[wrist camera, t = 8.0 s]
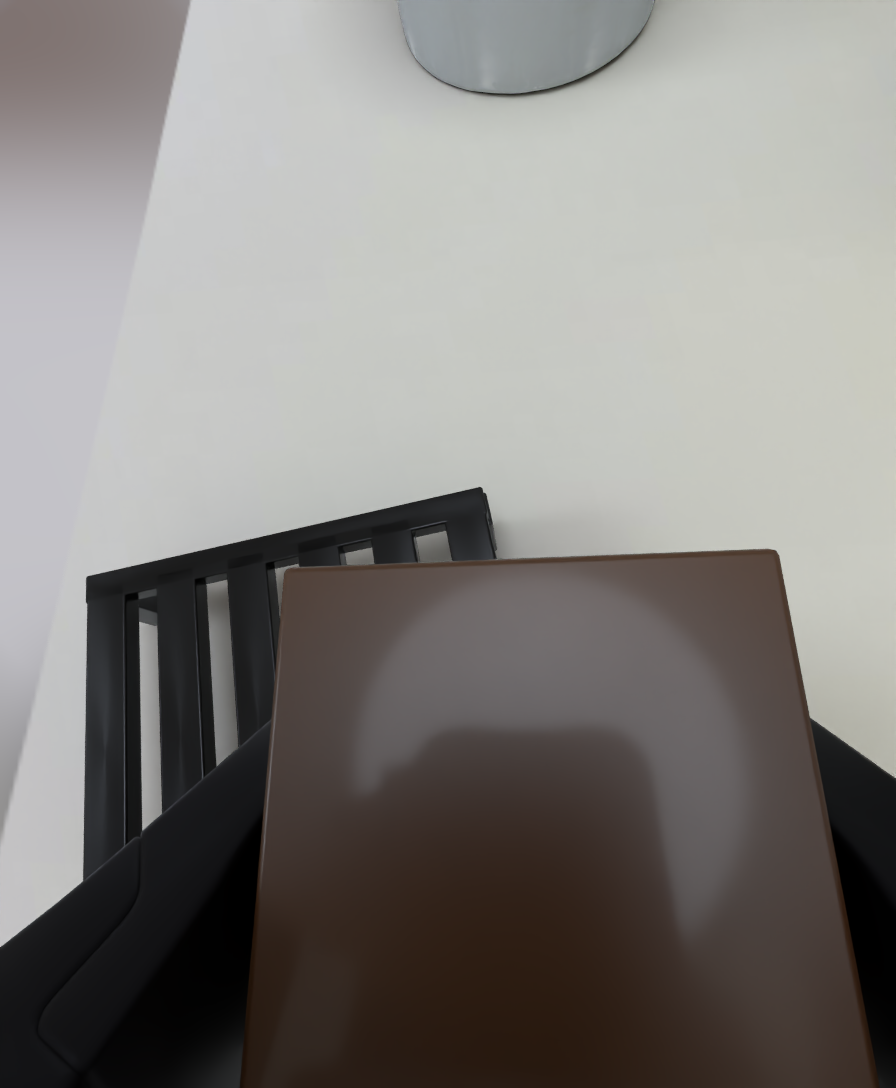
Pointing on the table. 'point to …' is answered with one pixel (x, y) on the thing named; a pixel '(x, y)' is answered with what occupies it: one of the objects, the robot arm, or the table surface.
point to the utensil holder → (518, 39)
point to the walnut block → (547, 834)
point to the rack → (184, 647)
